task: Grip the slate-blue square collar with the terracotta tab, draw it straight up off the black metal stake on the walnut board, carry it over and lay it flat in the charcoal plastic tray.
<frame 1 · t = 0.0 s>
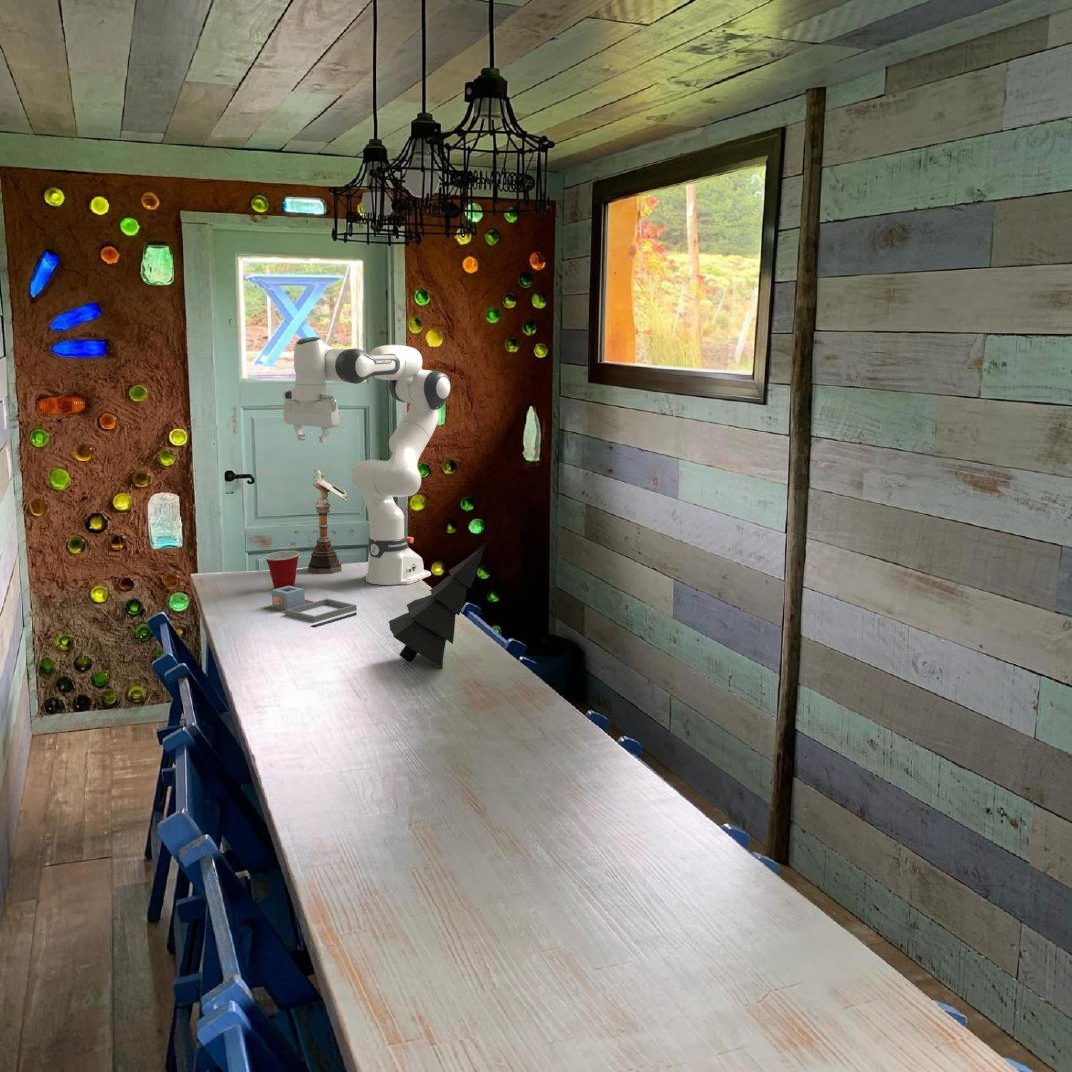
hand: (312, 441, 318), 48 cm above the table, fingers open, 8 cm apart
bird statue: (332, 569, 366), on the table
decorative tree: (438, 660, 270), on the table
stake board: (292, 610, 314), on the table
plastic cup: (283, 591, 337), on the table
tray: (321, 617, 307), on the table
collar: (288, 606, 313), point 1 cm above the table, touching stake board
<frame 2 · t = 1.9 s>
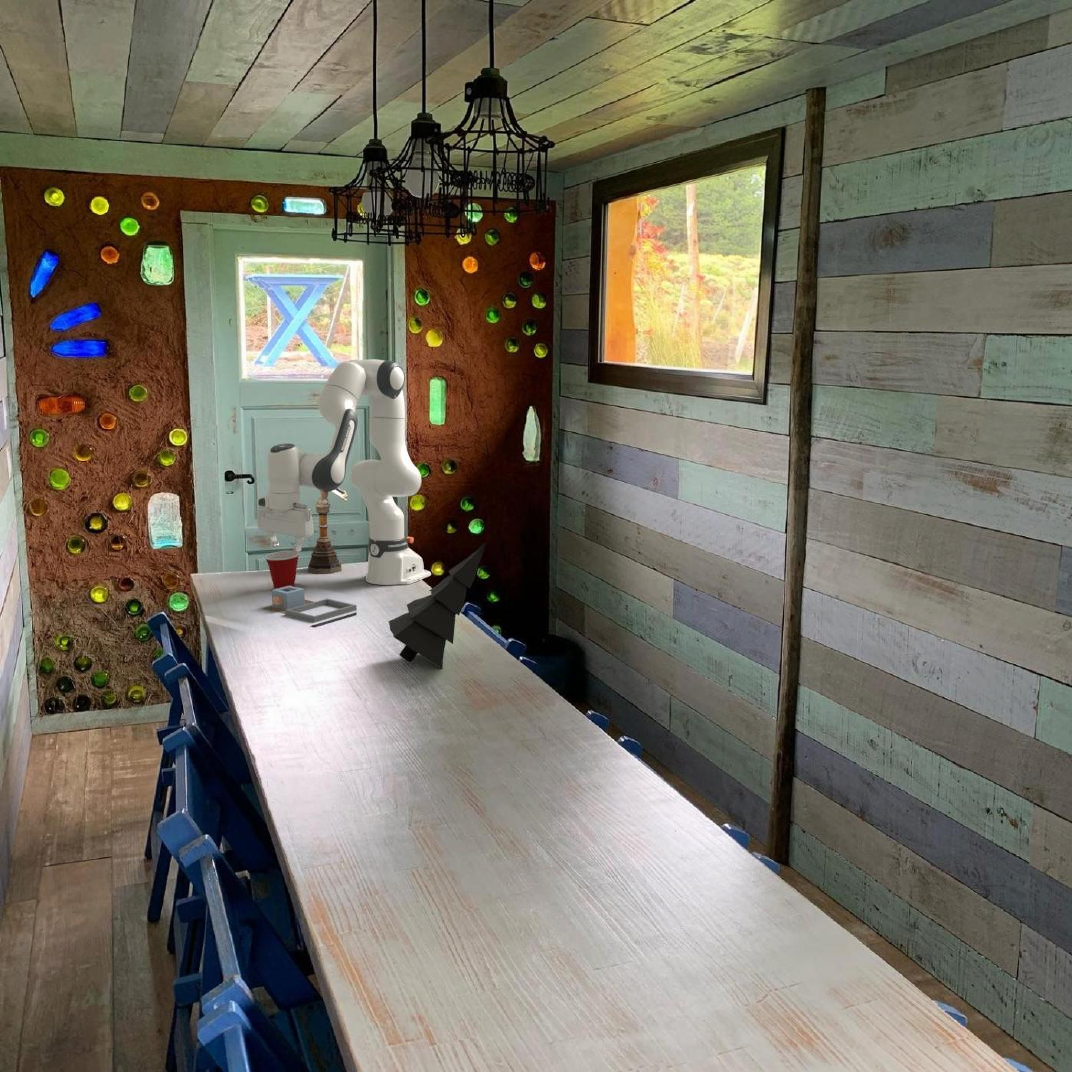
hand: (286, 549, 310), 18 cm above the table, fingers open, 8 cm apart
nothing on the table moved.
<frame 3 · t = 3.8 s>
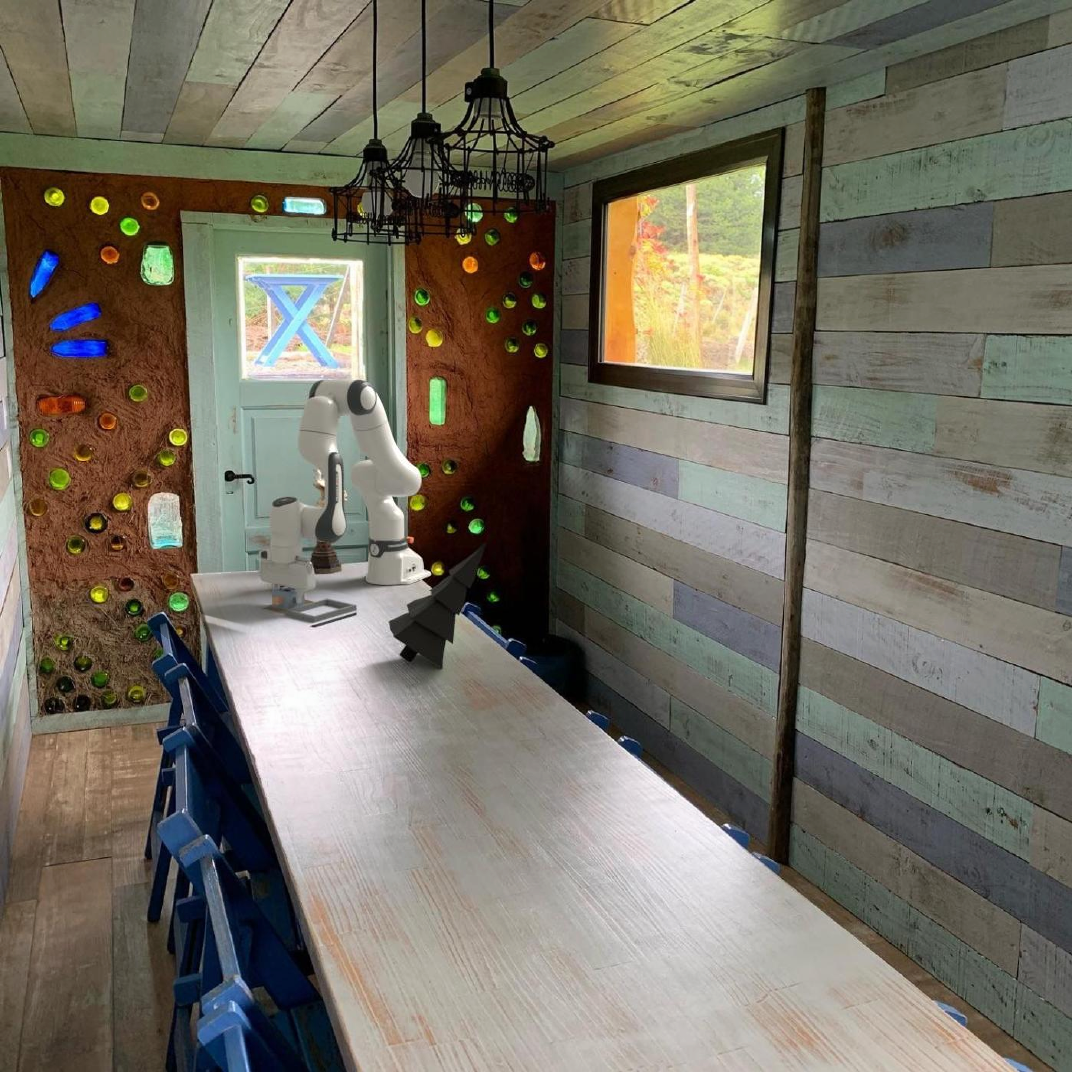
hand: (288, 600, 313), 3 cm above the table, fingers closed on collar, 6 cm apart
collar: (288, 606, 313), point 1 cm above the table, touching gripper, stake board
everything else where it was.
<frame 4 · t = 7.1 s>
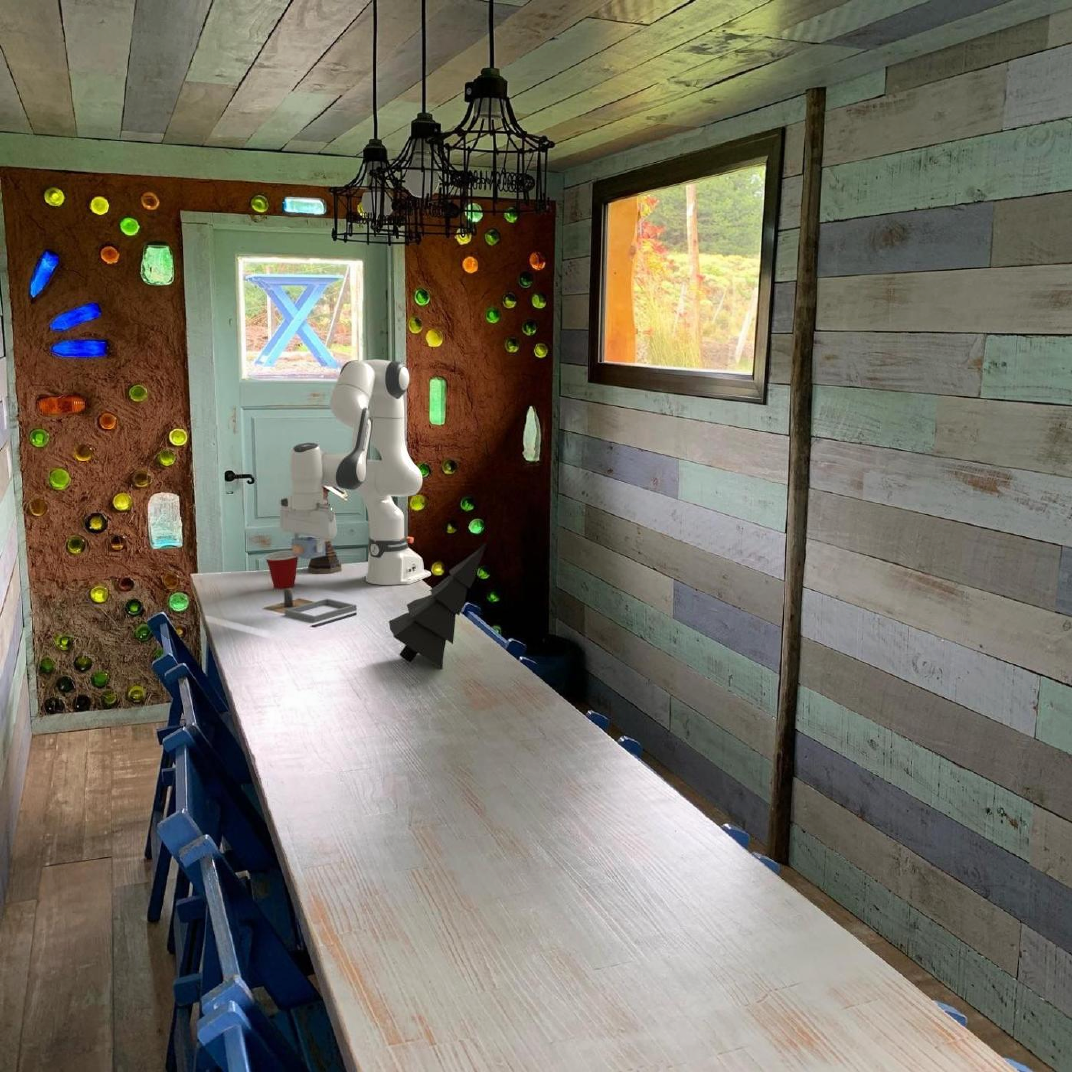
hand: (308, 550, 305), 19 cm above the table, fingers closed on collar, 6 cm apart
collar: (309, 555, 306), point 18 cm above the table, touching gripper
everything else where it was.
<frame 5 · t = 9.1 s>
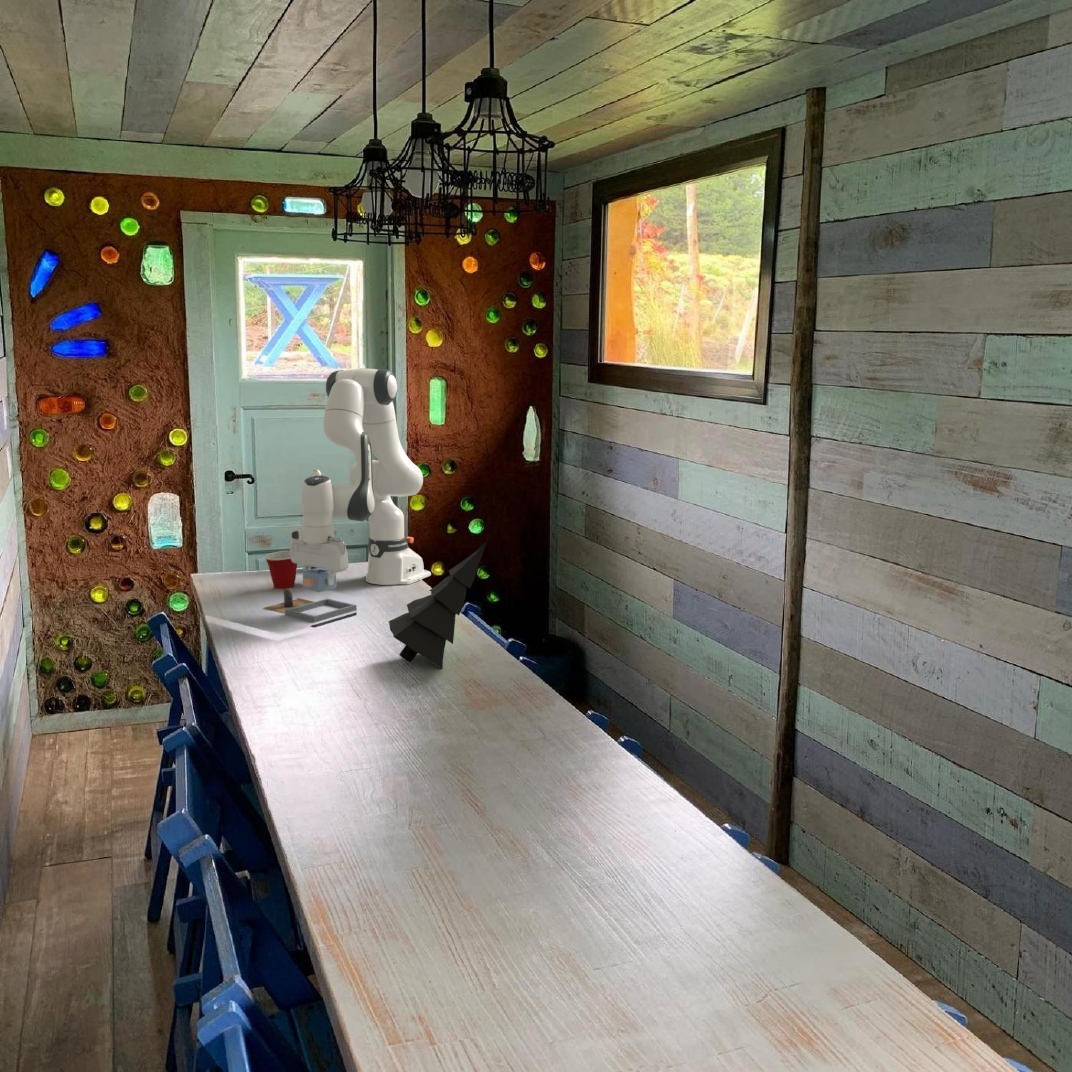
hand: (319, 582, 305), 10 cm above the table, fingers closed on collar, 6 cm apart
collar: (319, 588, 305), point 9 cm above the table, touching gripper
everything else where it was.
when the fingers open (4 cm above the table, at t = 10.8 s): collar drops 2 cm, resting on tray.
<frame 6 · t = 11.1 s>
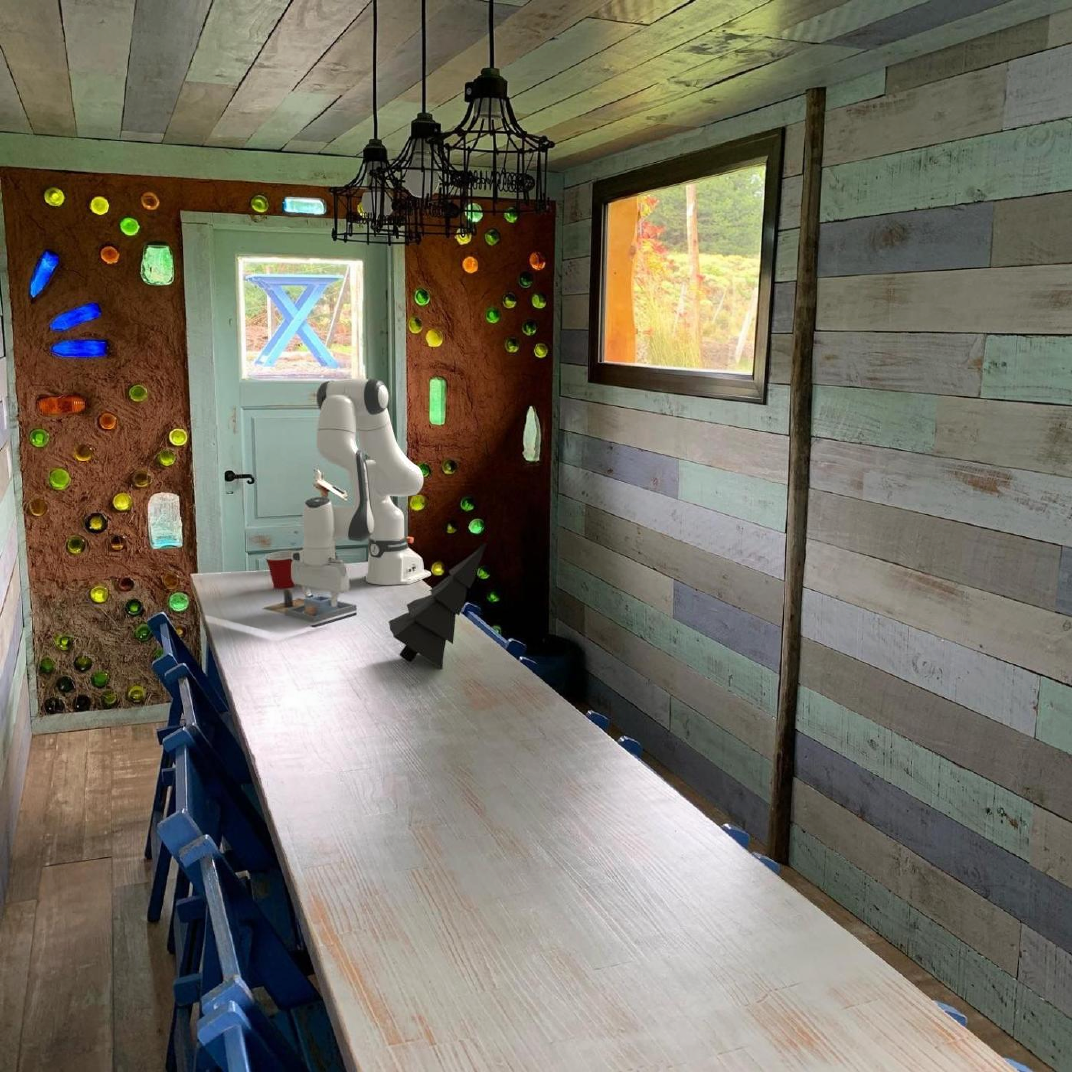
hand: (320, 603, 307), 4 cm above the table, fingers open, 8 cm apart
collar: (321, 615, 307), point 1 cm above the table, touching tray
everything else where it was.
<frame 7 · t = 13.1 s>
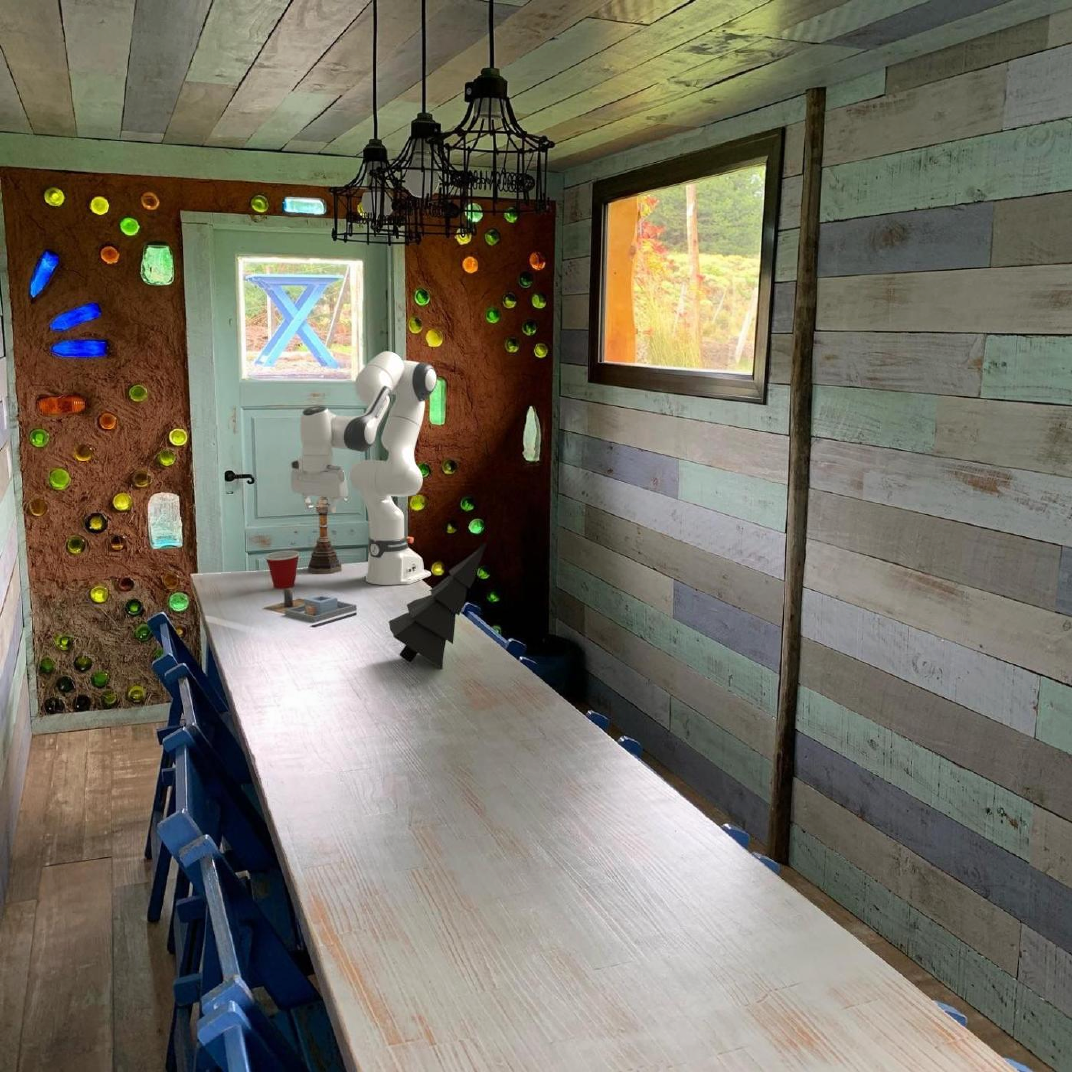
hand: (320, 510, 314), 29 cm above the table, fingers open, 8 cm apart
nothing on the table moved.
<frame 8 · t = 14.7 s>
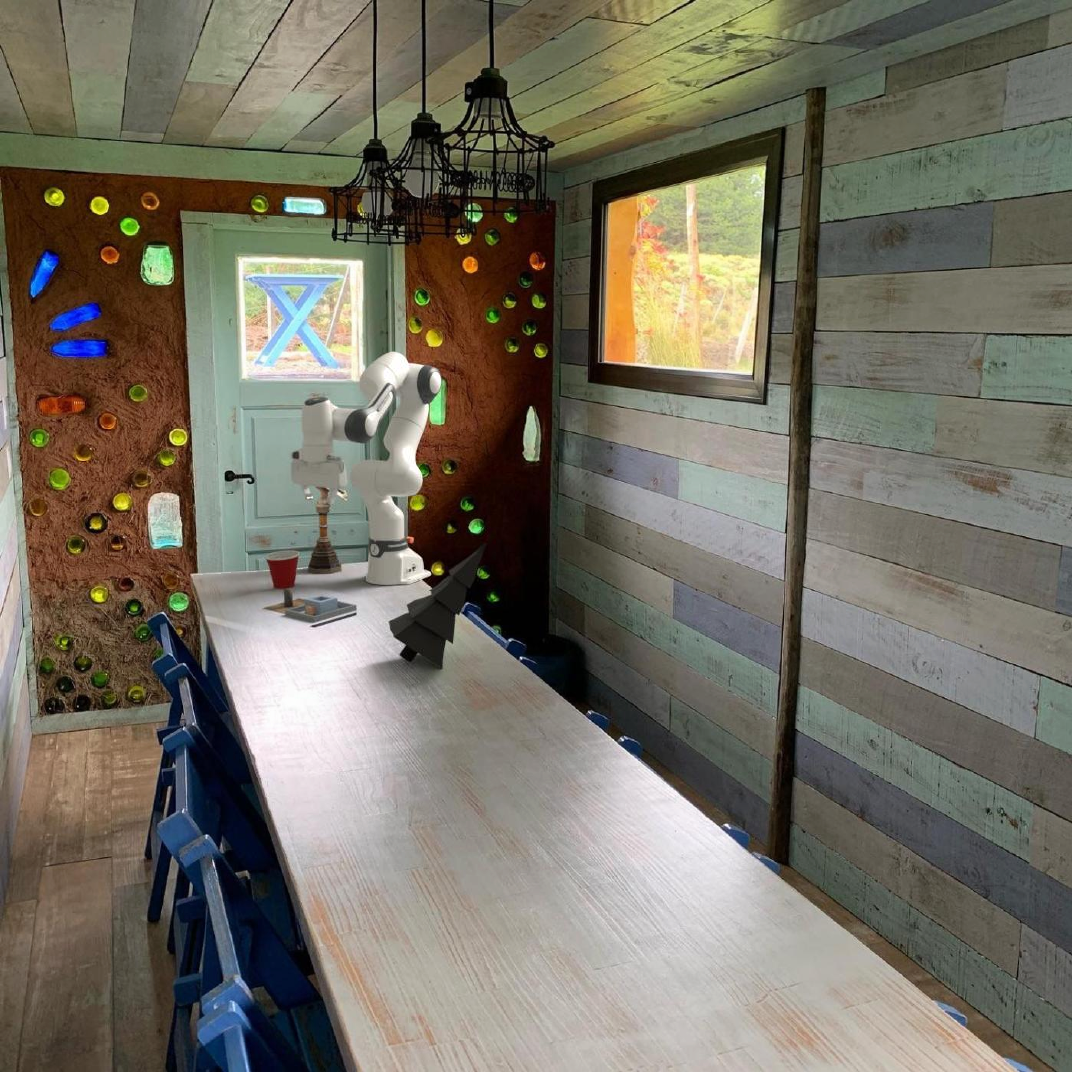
hand: (319, 501, 315), 31 cm above the table, fingers open, 8 cm apart
nothing on the table moved.
at the end: collar inside the target area on the tray (0.0 cm from its centre), point 0.6 cm above the tray's base; collar tilted 0°; the gripper is holding nothing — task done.
